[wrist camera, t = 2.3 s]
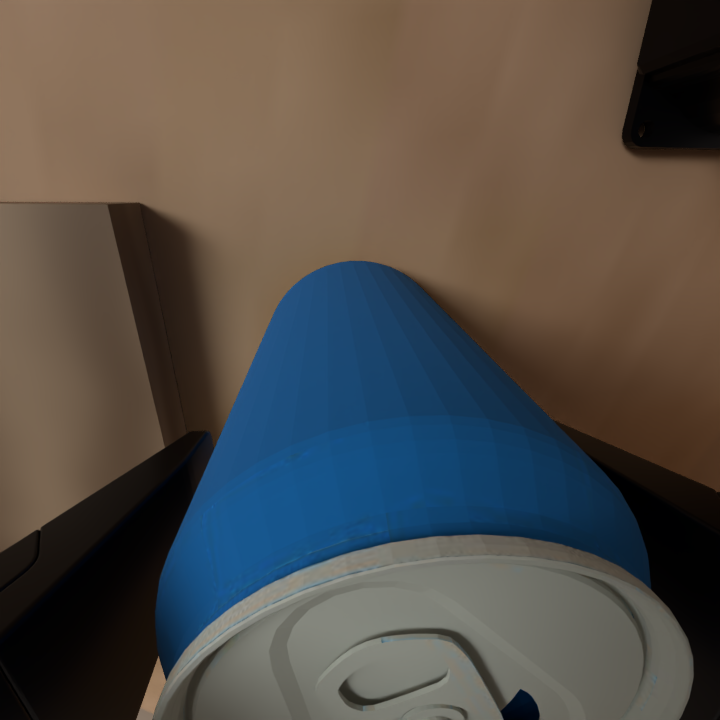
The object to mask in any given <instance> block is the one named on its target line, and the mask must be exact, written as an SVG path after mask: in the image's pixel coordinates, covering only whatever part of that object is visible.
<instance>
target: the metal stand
mask: <svg viewBox="0 0 720 720" xmlns="http://www.w3.org/2000/svg"><path fill="white" fill-rule="evenodd" d="M185 434H187V431H186V427H185V422H184V417H183V412H182V407H181V402H180V397H179V393H178V388H177V383H176V378H175V373H174V368H173V363H172V359H171V354H170V349H169V344H168V339H167V334H166V329H165V325H164V320H163V315H162V310H161V305H160V300H159V295H158V291H157V286H156V281H155V276H154V271H153V266H152V261H151V257H150V252H149V247H148V242H147V237H146V232H145V227H144V222H143V218H142V213H141V208H140V203H107V202H0V552H2V551H4V550H5V549H7V548H8V547H10V546H12V545H13V544H15V543H16V542H18V541H20V540H21V539H23V538H24V537H26V536H27V535H29V534H30V533H32V532H33V531H35V530H40V528H41V527H42V526H43V525H45V524H46V523H48V522H49V521H51V520H52V519H54V518H56V517H57V516H59V515H60V514H62V513H63V512H65V511H67V510H68V509H70V508H71V507H73V506H74V505H76V504H78V503H79V502H81V501H82V500H84V499H85V498H87V497H88V496H90V495H92V494H93V493H95V492H96V491H98V490H99V489H101V488H103V487H104V486H106V485H107V484H109V483H110V482H112V481H114V480H115V479H117V478H118V477H120V476H121V475H123V474H124V473H126V472H128V471H129V470H131V469H132V468H134V467H135V466H137V465H139V464H140V463H142V462H143V461H145V460H146V459H148V458H150V457H151V456H153V455H154V454H156V453H157V452H159V451H160V450H162V449H164V448H165V447H167V446H168V445H170V444H171V443H173V442H175V441H176V440H178V439H179V438H181V437H182V436H184V435H185Z"/></svg>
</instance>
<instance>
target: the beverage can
mask: <svg viewBox="0 0 720 720" xmlns="http://www.w3.org/2000/svg"><path fill="white" fill-rule="evenodd" d="M155 628H156V641H157V650H158V654H159V658H160V662H161V665H162V669H163V672H164V675H165V679H166V684H165V686H164V688H163V691H162V693H161V696H160V698H159V701H158V703H157V706H156V708H155V712H154V716H153V719H152V720H679V719H680V718H681V716H682V714H683V711H684V709H685V707H686V704H687V702H688V700H689V697H690V692H691V688H692V683H693V678H694V667H693V655H692V652H691V648H690V645H689V641H688V638H687V636H686V635H685V633H684V631H683V630H682V628H681V626H680V625H679V623H678V621H677V620H676V618H675V617H674V615H673V613H672V612H671V610H670V609H669V608H668V607H667V606H666V605H665V604H664V603H663V602H662V601H661V600H660V598H659V597H658V596H657V595H656V594H655V593H654V592H653V591H652V590H651V581H650V570H649V561H648V554H647V550H646V547H645V544H644V541H643V538H642V535H641V532H640V529H639V526H638V523H637V520H636V518H635V516H634V515H633V513H632V511H631V509H630V508H629V506H628V504H627V502H626V501H625V499H624V497H623V495H622V494H621V492H620V490H619V489H618V488H617V487H616V485H615V484H614V483H613V482H612V481H611V480H610V479H609V477H608V476H607V475H606V474H605V473H604V472H603V471H602V470H601V469H600V468H599V467H598V466H597V464H596V463H595V462H594V461H593V460H592V459H591V458H590V457H589V456H588V455H587V454H586V453H585V452H584V451H583V450H582V449H581V448H580V447H579V446H578V445H577V444H576V443H575V442H574V441H573V440H572V439H571V438H570V437H569V436H568V435H567V434H566V433H565V432H564V431H563V430H562V429H561V428H560V427H559V426H558V425H557V424H556V423H555V422H554V421H553V420H552V419H551V418H550V417H549V416H548V415H547V414H546V413H545V412H544V411H543V410H542V409H541V408H540V407H539V406H538V405H537V404H536V403H535V402H534V401H533V400H532V399H531V398H530V397H529V396H528V395H527V394H526V393H525V392H524V391H523V390H522V389H521V388H520V387H519V386H518V385H517V384H516V383H515V382H514V381H513V380H512V379H511V378H510V377H509V376H508V375H507V374H506V373H505V372H504V371H503V370H502V369H501V368H500V367H499V366H498V365H497V364H496V363H495V362H494V361H493V360H492V359H491V358H490V357H489V356H488V355H487V354H486V353H485V352H484V351H483V350H482V349H481V348H480V347H479V346H478V345H477V344H476V343H475V342H474V341H473V340H472V338H471V337H470V336H469V335H468V334H467V333H466V332H465V331H464V330H463V329H462V328H461V327H460V326H459V325H458V324H457V323H456V322H455V321H454V320H453V319H452V318H451V317H450V316H449V315H448V314H447V313H446V312H445V311H444V310H443V309H442V308H441V307H440V306H439V305H438V304H437V303H436V302H435V301H434V300H433V299H432V298H431V297H430V296H429V295H428V294H427V293H426V292H425V291H424V290H423V289H422V288H421V287H420V286H419V285H418V284H417V283H415V282H414V281H413V280H412V279H411V278H409V277H408V276H406V275H405V274H403V273H401V272H400V271H398V270H396V269H393V268H391V267H389V266H386V265H382V264H379V263H374V262H367V261H347V262H339V263H336V264H332V265H328V266H325V267H323V268H320V269H318V270H316V271H314V272H312V273H310V274H309V275H307V276H305V277H304V278H302V279H301V280H300V281H299V282H297V283H296V284H295V285H294V286H293V287H292V288H291V289H290V290H289V291H288V292H287V293H286V295H285V296H284V297H283V299H282V300H281V301H280V303H279V305H278V306H277V308H276V310H275V312H274V314H273V317H272V319H271V321H270V323H269V326H268V328H267V330H266V332H265V335H264V337H263V339H262V342H261V344H260V346H259V348H258V351H257V353H256V355H255V358H254V360H253V362H252V364H251V367H250V369H249V371H248V373H247V376H246V378H245V380H244V383H243V385H242V387H241V389H240V392H239V394H238V396H237V399H236V401H235V403H234V405H233V408H232V410H231V412H230V414H229V417H228V419H227V421H226V424H225V426H224V428H223V430H222V433H221V435H220V437H219V440H218V442H217V444H216V446H215V449H214V451H213V453H212V455H211V458H210V460H209V462H208V465H207V467H206V469H205V471H204V474H203V476H202V478H201V481H200V483H199V485H198V487H197V490H196V492H195V494H194V496H193V499H192V501H191V503H190V506H189V508H188V510H187V512H186V515H185V517H184V519H183V522H182V524H181V526H180V528H179V531H178V533H177V535H176V537H175V540H174V542H173V544H172V547H171V549H170V551H169V553H168V556H167V559H166V562H165V565H164V568H163V570H162V573H161V576H160V580H159V586H158V594H157V601H156V608H155Z"/></svg>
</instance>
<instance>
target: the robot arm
mask: <svg viewBox="0 0 720 720" xmlns="http://www.w3.org/2000/svg"><path fill="white" fill-rule="evenodd" d="M637 66H638V69H637V73H636V77H635V81H634V86H633V90H632V94H631V98H630V102H629V106H628V110H627V115H626V119H625V123H624V127H623V132H622V139H623V142H624V144H625V145H626V146H627V147H629V148H636V149H697V150H720V0H652V4H651V8H650V12H649V16H648V21H647V25H646V29H645V33H644V37H643V41H642V46H641V50H640V54H639V58H638V62H637ZM642 123H643V124H644V126H645V131H644V133H643V135H642V137H640V136H639V134H638V132H639V127H640V125H641V124H642ZM553 421H554V420H553ZM554 422H555V423H556V424H557V425H558V426H559V427H560V428H561V429H562V430H563V431H564V432H565V433H566V434H567V435H568V436H569V437H570V438H571V439H572V440H573V441H574V442H575V443H576V444H577V445H578V446H579V447H580V448H581V449H582V450H583V451H584V452H585V453H586V454H587V455H588V456H589V457H590V458H591V459H592V460H593V461H594V462H595V463H596V464H597V466H598V467H599V468H600V469H601V470H602V471H603V472H604V473H605V474H606V475H607V476H608V477H609V479H610V480H611V481H612V482H613V483H614V484H615V485H616V487H617V488H618V489H619V490H620V492H621V494H622V495H623V497H624V499H625V501H626V502H627V504H628V506H629V508H630V509H631V511H632V513H633V515H634V516H635V518H636V520H637V523H638V526H639V529H640V532H641V535H642V538H643V541H644V544H645V547H646V550H647V554H648V561H649V570H650V581H651V590H652V591H653V592H654V593H655V594H656V595H657V596H658V597H659V598H660V600H661V601H662V602H663V603H664V604H665V605H666V606H667V607H668V608H669V609H670V610H671V612H672V613H673V615H674V617H675V618H676V620H677V621H678V623H679V625H680V626H681V628H682V630H683V631H684V633H685V635H686V636H687V638H688V641H689V645H690V648H691V652H692V655H693V667H694V678H693V683H692V688H691V692H690V697H689V700H688V702H687V704H686V707H685V709H684V711H683V714H682V716H681V718H680V719H679V720H720V492H716V491H715V490H714V489H712V488H710V487H707V486H705V485H703V484H700V483H698V482H696V481H693V480H691V479H689V478H686V477H684V476H682V475H680V474H677V473H675V472H673V471H670V470H668V469H666V468H663V467H661V466H659V465H656V464H654V463H652V462H649V461H647V460H645V459H642V458H640V457H638V456H635V455H633V454H631V453H628V452H626V451H624V450H622V449H619V448H617V447H615V446H612V445H610V444H608V443H605V442H603V441H601V440H598V439H596V438H594V437H591V436H589V435H587V434H584V433H582V432H580V431H577V430H575V429H573V428H570V427H568V426H566V425H564V424H561V423H559V422H557V421H554ZM213 451H214V447H213V441H212V436H211V434H210V432H209V431H191V432H189V433H187V434H185V435H184V436H182V437H181V438H179V439H178V440H176V441H175V442H173V443H171V444H170V445H168V446H167V447H165V448H164V449H162V450H160V451H159V452H157V453H156V454H154V455H153V456H151V457H150V458H148V459H146V460H145V461H143V462H142V463H140V464H139V465H137V466H135V467H134V468H132V469H131V470H129V471H128V472H126V473H124V474H123V475H121V476H120V477H118V478H117V479H115V480H114V481H112V482H110V483H109V484H107V485H106V486H104V487H103V488H101V489H99V490H98V491H96V492H95V493H93V494H92V495H90V496H88V497H87V498H85V499H84V500H82V501H81V502H79V503H78V504H76V505H74V506H73V507H71V508H70V509H68V510H67V511H65V512H63V513H62V514H60V515H59V516H57V517H56V518H54V519H52V520H51V521H49V522H48V523H46V524H45V525H43V526H42V527H41V528H40V530H35V531H33V532H32V533H30V534H29V535H27V536H26V537H24V538H23V539H21V540H20V541H18V542H16V543H15V544H13V545H12V546H10V547H8V548H7V549H5V550H4V551H2V552H0V720H136V718H137V715H138V713H139V710H140V707H141V704H142V701H143V698H144V696H145V693H146V690H147V687H148V684H149V681H150V678H151V676H152V673H153V670H154V667H155V664H156V661H157V659H158V656H159V654H158V650H157V641H156V628H155V608H156V601H157V594H158V586H159V580H160V576H161V573H162V570H163V568H164V565H165V562H166V559H167V556H168V553H169V551H170V549H171V547H172V544H173V542H174V540H175V537H176V535H177V533H178V531H179V528H180V526H181V524H182V522H183V519H184V517H185V515H186V512H187V510H188V508H189V506H190V503H191V501H192V499H193V496H194V494H195V492H196V490H197V487H198V485H199V483H200V481H201V478H202V476H203V474H204V471H205V469H206V467H207V465H208V462H209V460H210V458H211V455H212V453H213Z"/></svg>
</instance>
